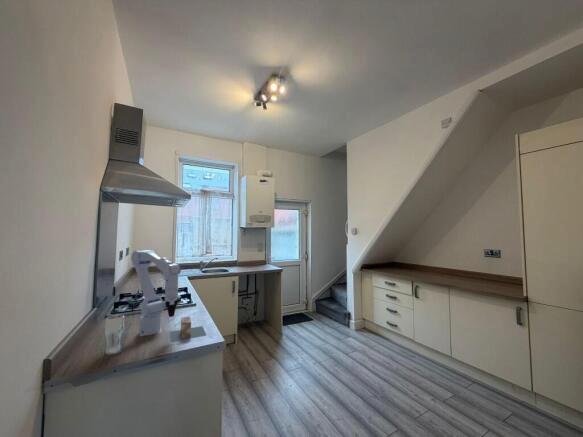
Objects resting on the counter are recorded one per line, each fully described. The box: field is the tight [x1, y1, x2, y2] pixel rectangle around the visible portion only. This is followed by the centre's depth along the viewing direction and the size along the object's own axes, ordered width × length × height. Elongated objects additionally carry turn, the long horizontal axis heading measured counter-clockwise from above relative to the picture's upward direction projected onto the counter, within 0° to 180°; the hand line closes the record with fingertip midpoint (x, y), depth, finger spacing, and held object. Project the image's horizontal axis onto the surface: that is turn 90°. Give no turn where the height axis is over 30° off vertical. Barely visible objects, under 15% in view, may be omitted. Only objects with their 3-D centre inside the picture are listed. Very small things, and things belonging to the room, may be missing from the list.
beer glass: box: [104, 313, 126, 356], centre depth 107 cm, size 7×7×15 cm
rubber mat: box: [169, 325, 207, 343], centre depth 124 cm, size 16×14×1 cm
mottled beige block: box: [180, 316, 192, 338], centre depth 124 cm, size 4×9×7 cm, turn 28°
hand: (171, 316), depth 121 cm, fingers closed
